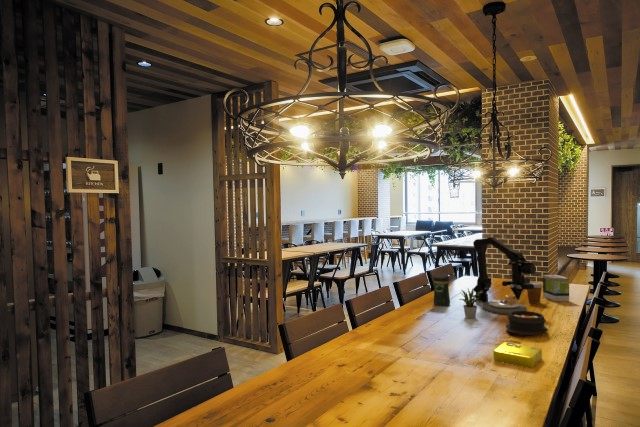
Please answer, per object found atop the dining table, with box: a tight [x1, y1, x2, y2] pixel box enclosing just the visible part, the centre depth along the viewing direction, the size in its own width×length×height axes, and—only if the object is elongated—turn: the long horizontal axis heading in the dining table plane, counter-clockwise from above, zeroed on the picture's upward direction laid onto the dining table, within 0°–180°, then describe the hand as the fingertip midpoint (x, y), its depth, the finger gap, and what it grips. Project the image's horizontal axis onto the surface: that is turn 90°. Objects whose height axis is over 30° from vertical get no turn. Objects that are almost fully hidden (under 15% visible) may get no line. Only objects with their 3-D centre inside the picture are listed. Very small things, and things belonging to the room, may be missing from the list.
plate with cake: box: [489, 294, 520, 309], centre depth 257 cm, size 19×16×5 cm
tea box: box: [542, 274, 570, 302], centre depth 282 cm, size 15×10×15 cm
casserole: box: [505, 310, 549, 336], centre depth 211 cm, size 25×19×8 cm
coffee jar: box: [432, 274, 451, 307], centre depth 272 cm, size 10×8×19 cm
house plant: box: [458, 288, 483, 319], centre depth 239 cm, size 14×14×16 cm
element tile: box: [493, 341, 543, 369], centre depth 174 cm, size 15×15×5 cm
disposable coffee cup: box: [526, 281, 543, 304], centre depth 274 cm, size 10×10×12 cm
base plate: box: [481, 301, 528, 316], centre depth 256 cm, size 24×24×2 cm
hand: (518, 299), depth 259 cm, fingers closed
